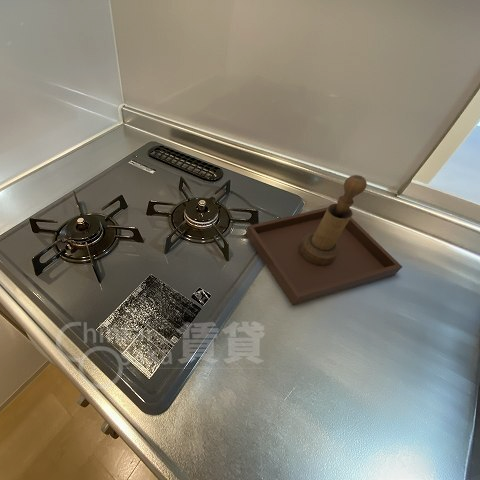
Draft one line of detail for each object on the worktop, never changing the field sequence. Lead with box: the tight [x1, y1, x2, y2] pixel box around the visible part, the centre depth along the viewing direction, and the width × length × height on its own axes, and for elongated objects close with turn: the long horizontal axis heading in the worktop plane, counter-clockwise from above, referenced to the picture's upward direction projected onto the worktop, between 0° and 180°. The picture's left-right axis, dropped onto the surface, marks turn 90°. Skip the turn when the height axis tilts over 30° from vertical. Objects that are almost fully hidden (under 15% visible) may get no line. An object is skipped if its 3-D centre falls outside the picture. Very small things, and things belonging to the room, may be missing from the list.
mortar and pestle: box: [299, 174, 368, 266], centre depth 54 cm, size 7×6×18 cm
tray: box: [245, 206, 403, 306], centre depth 61 cm, size 22×18×3 cm
